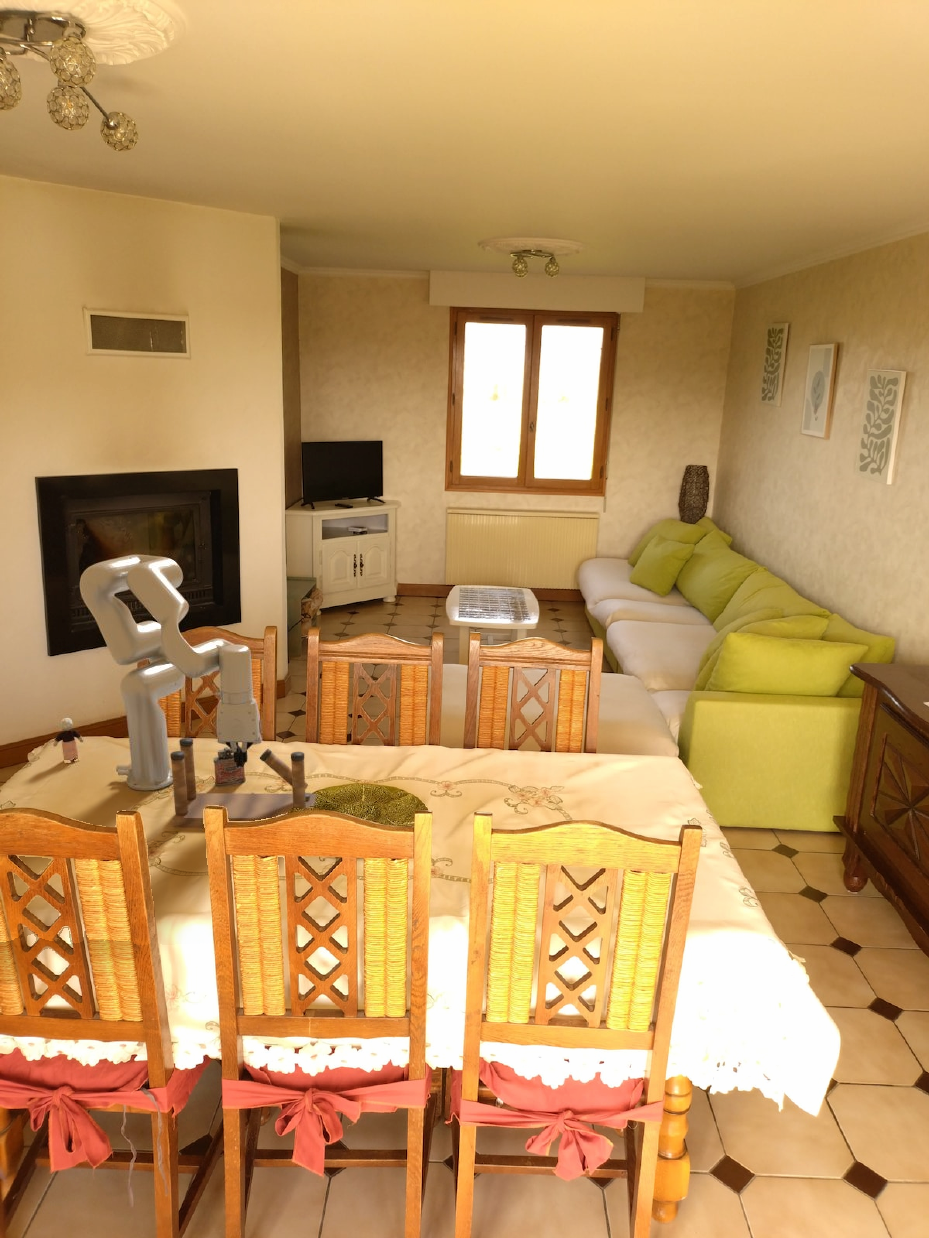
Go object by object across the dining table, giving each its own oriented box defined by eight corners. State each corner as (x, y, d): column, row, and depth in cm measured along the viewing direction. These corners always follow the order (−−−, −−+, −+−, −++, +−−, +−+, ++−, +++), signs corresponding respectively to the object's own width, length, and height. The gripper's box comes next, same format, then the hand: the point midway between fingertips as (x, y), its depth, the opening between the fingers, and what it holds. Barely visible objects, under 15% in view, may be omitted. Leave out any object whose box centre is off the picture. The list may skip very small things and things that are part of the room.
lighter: (216, 788, 247) (214, 753, 244) (213, 783, 250) (211, 748, 247) (247, 782, 251) (245, 747, 248) (243, 777, 253) (241, 743, 251)
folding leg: (258, 760, 232) (267, 752, 232) (260, 755, 235) (269, 746, 235) (298, 795, 235) (307, 787, 235) (300, 790, 238) (309, 781, 238)
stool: (173, 826, 227) (167, 758, 222) (187, 801, 239) (182, 736, 234) (310, 827, 228) (307, 758, 223) (316, 802, 240) (315, 736, 235)
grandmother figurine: (81, 755, 265) (76, 713, 262) (86, 759, 263) (82, 717, 259) (53, 762, 260) (48, 719, 257) (58, 767, 258) (53, 724, 254)
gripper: (202, 700, 225) (207, 771, 230) (265, 701, 226) (268, 771, 231) (210, 689, 233) (214, 758, 238) (270, 690, 233) (273, 758, 238)
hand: (241, 764), depth 234 cm, fingers closed
